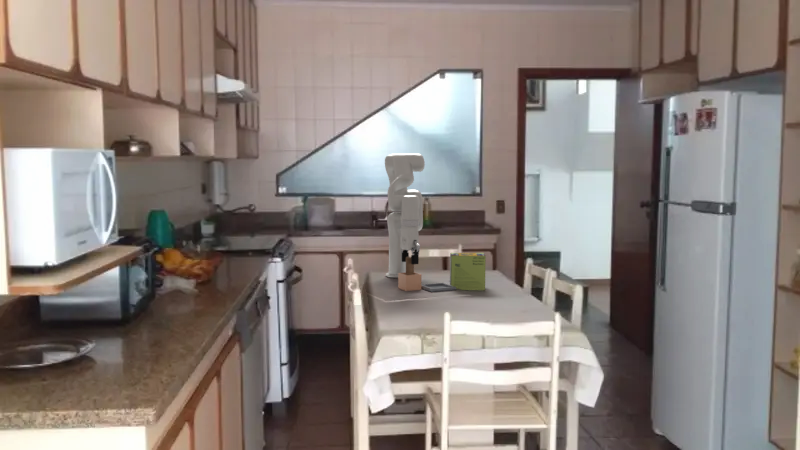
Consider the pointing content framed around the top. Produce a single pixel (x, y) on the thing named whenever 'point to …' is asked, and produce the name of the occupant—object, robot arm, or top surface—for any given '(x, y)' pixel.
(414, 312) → the top surface
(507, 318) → the top surface
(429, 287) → the tray
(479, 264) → the protein box
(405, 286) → the holder
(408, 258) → the dowel
